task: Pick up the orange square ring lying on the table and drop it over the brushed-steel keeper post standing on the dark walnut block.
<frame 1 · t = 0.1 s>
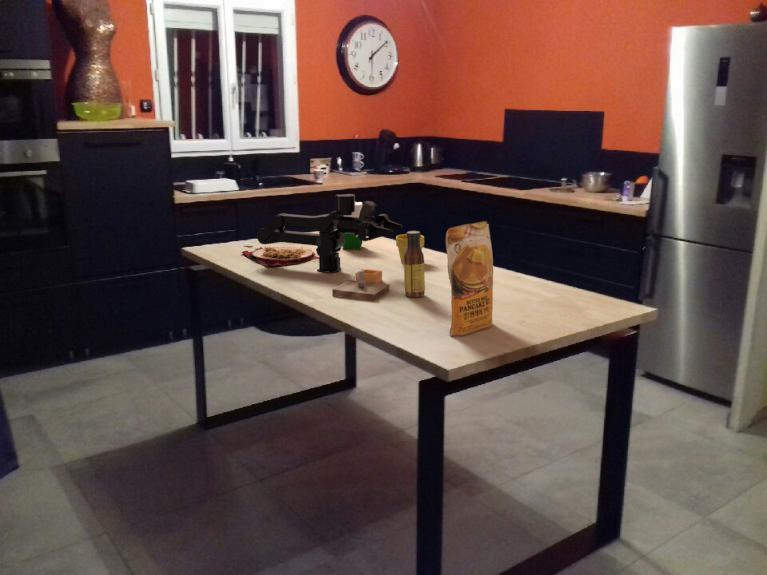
hand: (397, 229, 231), 17 cm above the table, tool horizontal, fingers open, 9 cm apart
orange square ring: (368, 282, 229), on the table
pancake mix bag: (468, 329, 184), on the table
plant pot: (409, 263, 256), on the table
keeper: (361, 293, 217), on the table
milk carton: (352, 248, 280), on the table
plate with food: (284, 259, 264), on the table
sauce bottle: (414, 296, 215), on the table
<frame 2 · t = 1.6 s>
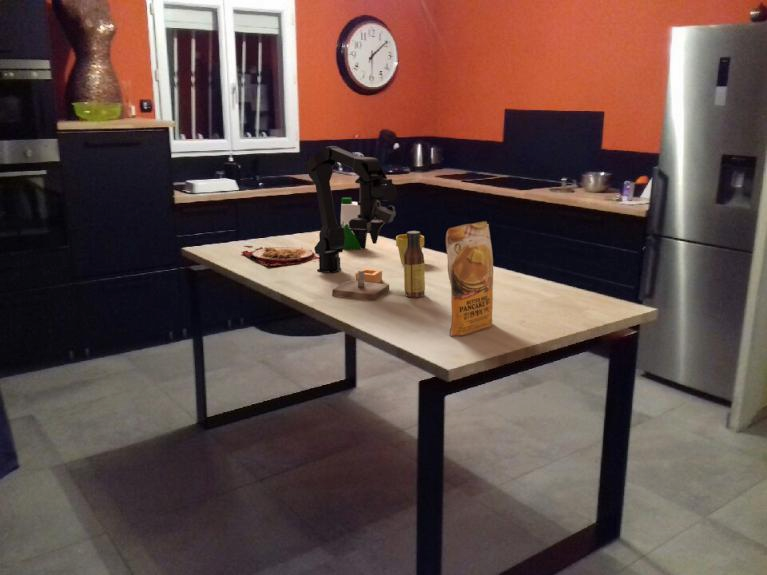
hand: (369, 246, 226), 12 cm above the table, tool pointing down, fingers open, 9 cm apart
nothing on the table moved.
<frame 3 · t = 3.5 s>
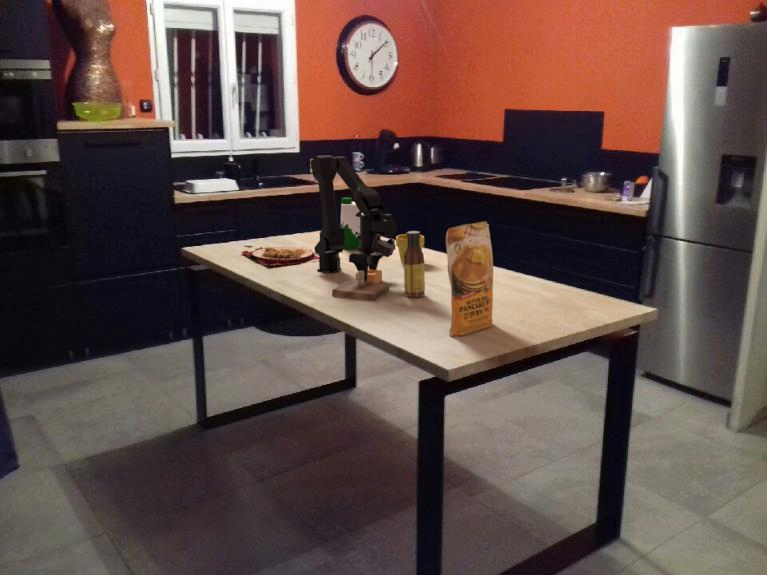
hand: (368, 278, 229), 1 cm above the table, tool pointing down, fingers closed on orange square ring, 7 cm apart
orange square ring: (368, 282, 229), on the table, touching gripper
everything else where it was.
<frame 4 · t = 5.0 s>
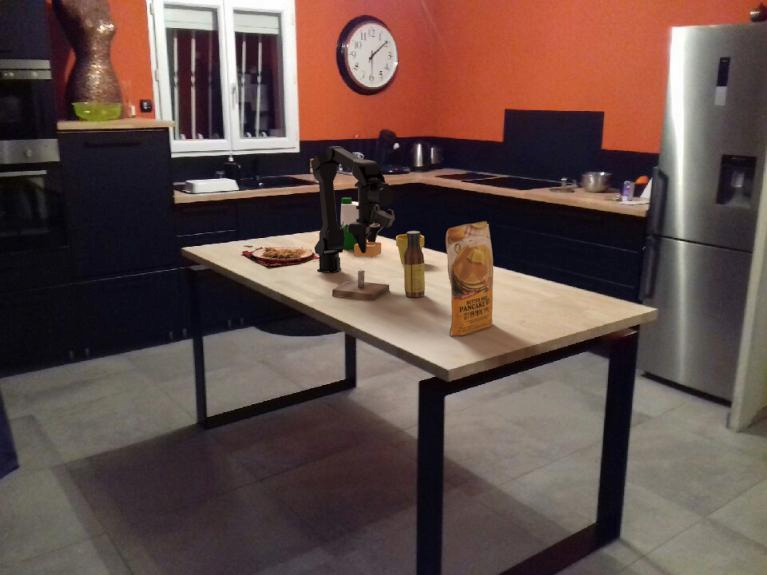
hand: (367, 250, 223), 11 cm above the table, tool pointing down, fingers closed on orange square ring, 7 cm apart
orange square ring: (367, 254, 223), point 10 cm above the table, touching gripper
everything else where it was.
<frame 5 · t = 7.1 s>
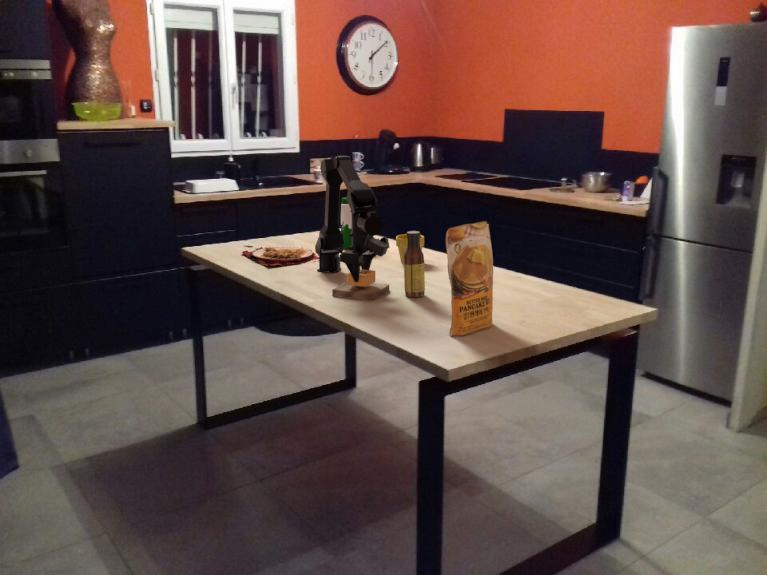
hand: (361, 279, 216), 4 cm above the table, tool pointing down, fingers closed on orange square ring, 7 cm apart
orange square ring: (361, 283, 216), point 3 cm above the table, touching gripper
everything else where it was.
when the fingers open (4 cm above the table, at t = 7.7 s): orange square ring drops 1 cm, resting on keeper.
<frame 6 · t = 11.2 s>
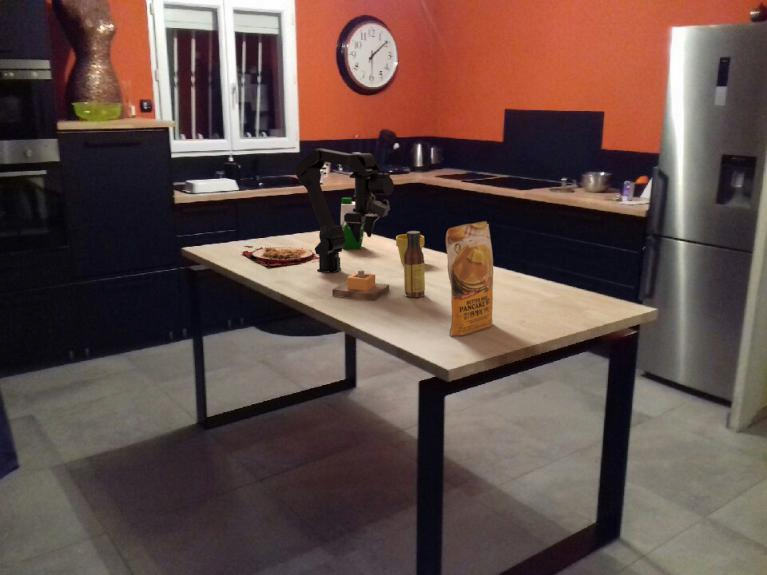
hand: (363, 239, 232), 13 cm above the table, tool pointing down, fingers open, 9 cm apart
orange square ring: (361, 286, 216), point 2 cm above the table, touching keeper
everything else where it was.
at the end: orange square ring 0.1 cm off-centre on the keeper, point 2.0 cm above the keeper's base; the gripper is holding nothing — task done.
